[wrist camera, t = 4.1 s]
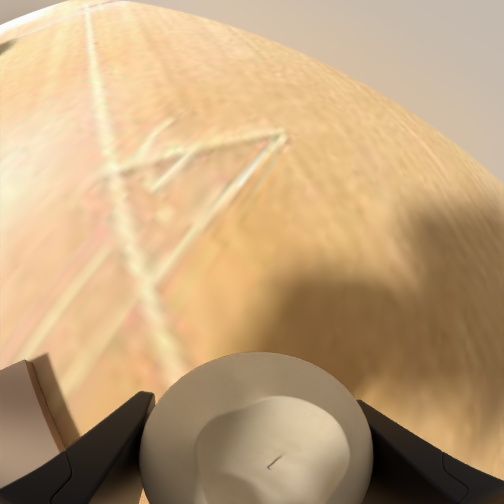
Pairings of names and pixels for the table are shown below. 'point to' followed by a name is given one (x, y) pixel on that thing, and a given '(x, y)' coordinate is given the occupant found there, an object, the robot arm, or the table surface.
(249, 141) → the table surface
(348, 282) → the table surface
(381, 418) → the robot arm
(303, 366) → the candle
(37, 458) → the walnut slab
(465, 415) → the table surface
